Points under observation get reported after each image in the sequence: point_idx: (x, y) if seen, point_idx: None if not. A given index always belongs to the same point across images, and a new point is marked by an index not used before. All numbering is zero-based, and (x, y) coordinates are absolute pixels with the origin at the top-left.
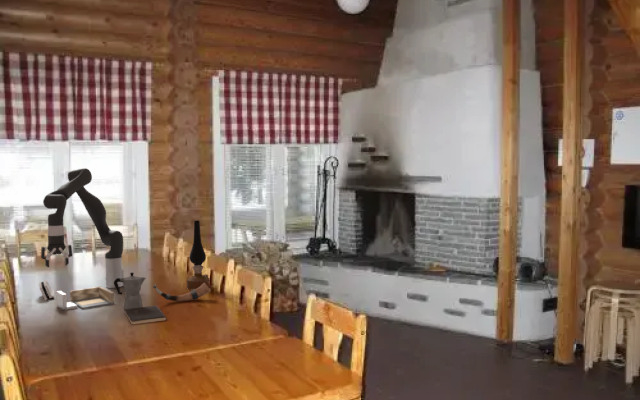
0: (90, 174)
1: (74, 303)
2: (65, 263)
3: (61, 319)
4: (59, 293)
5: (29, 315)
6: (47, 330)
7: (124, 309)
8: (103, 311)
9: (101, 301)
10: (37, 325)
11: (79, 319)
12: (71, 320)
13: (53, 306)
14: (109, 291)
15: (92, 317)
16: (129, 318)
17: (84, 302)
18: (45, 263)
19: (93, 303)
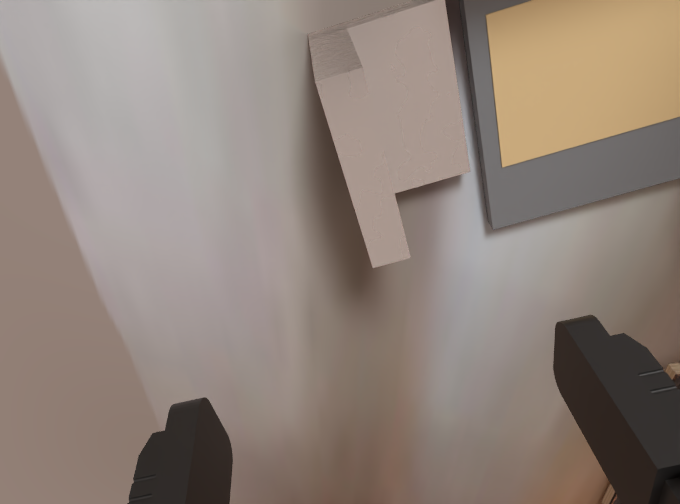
0: None
1: (465, 27)
2: (573, 387)
3: (343, 380)
4: (348, 188)
5: (127, 242)
6: (286, 495)
7: (675, 380)
8: (585, 307)
9: (678, 96)
10: (230, 434)
11: (430, 403)
12: (391, 407)
13: (273, 8)
14: None
15: (496, 391)
16: (616, 494)
17: (547, 70)
18: (138, 502)
19: (598, 138)
